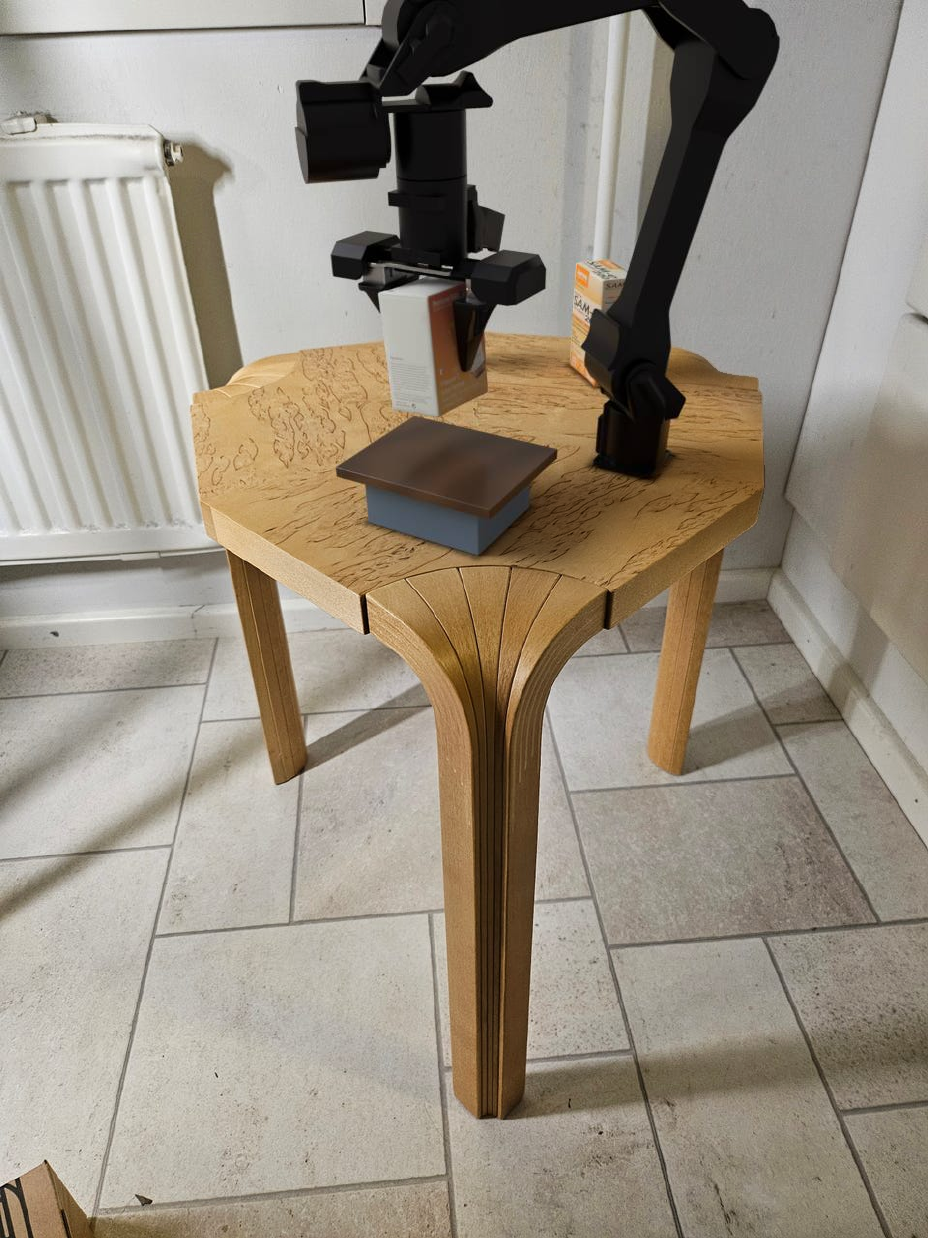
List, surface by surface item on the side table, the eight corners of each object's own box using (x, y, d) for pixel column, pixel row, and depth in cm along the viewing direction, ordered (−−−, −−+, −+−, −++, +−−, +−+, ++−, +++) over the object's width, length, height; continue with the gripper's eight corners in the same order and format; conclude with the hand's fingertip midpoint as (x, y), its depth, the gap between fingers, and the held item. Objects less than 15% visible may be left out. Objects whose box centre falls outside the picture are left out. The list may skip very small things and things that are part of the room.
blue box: (529, 507, 83) (531, 460, 80) (478, 556, 76) (478, 506, 73) (425, 479, 88) (423, 434, 85) (368, 522, 81) (363, 475, 78)
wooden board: (557, 458, 80) (557, 448, 79) (490, 520, 71) (490, 509, 71) (414, 424, 87) (413, 415, 86) (336, 476, 78) (335, 466, 77)
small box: (438, 420, 76) (426, 296, 70) (391, 411, 79) (375, 291, 73) (490, 391, 81) (483, 274, 75) (443, 384, 84) (433, 271, 78)
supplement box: (567, 365, 113) (573, 261, 105) (600, 361, 114) (609, 257, 106) (593, 388, 106) (602, 279, 99) (628, 383, 108) (640, 275, 100)
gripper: (580, 167, 70) (569, 354, 79) (395, 151, 78) (405, 323, 87) (514, 192, 63) (511, 395, 72) (317, 171, 71) (337, 357, 80)
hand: (438, 364), depth 78 cm, fingers closed on small box, 6 cm apart
